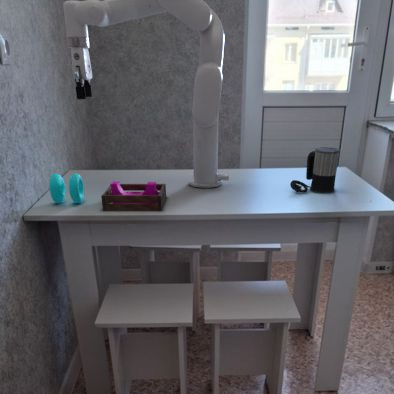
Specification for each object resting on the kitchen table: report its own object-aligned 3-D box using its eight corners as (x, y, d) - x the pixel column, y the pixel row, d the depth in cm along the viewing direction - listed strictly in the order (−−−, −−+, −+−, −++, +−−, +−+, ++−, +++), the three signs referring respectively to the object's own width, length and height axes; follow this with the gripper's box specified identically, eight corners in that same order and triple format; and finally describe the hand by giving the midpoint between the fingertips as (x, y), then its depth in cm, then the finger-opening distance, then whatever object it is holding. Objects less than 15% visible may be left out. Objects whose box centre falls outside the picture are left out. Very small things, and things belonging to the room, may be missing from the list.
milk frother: (339, 190, 187) (345, 149, 179) (317, 198, 177) (322, 155, 169) (307, 184, 195) (311, 144, 187) (284, 191, 185) (288, 150, 178)
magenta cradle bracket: (158, 201, 174) (157, 180, 170) (155, 206, 169) (154, 184, 165) (116, 201, 175) (114, 179, 171) (112, 206, 170) (110, 183, 166)
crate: (166, 197, 179) (165, 183, 176) (161, 210, 165) (160, 195, 162) (112, 197, 180) (110, 183, 177) (102, 210, 165) (101, 195, 163)
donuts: (59, 199, 178) (54, 170, 173) (86, 199, 178) (82, 170, 173) (51, 206, 170) (46, 177, 165) (79, 206, 170) (75, 177, 164)
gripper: (83, 43, 165) (89, 100, 174) (94, 43, 179) (99, 96, 188) (61, 43, 165) (68, 100, 174) (74, 43, 180) (80, 96, 189)
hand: (84, 97), depth 181 cm, fingers open, 9 cm apart
